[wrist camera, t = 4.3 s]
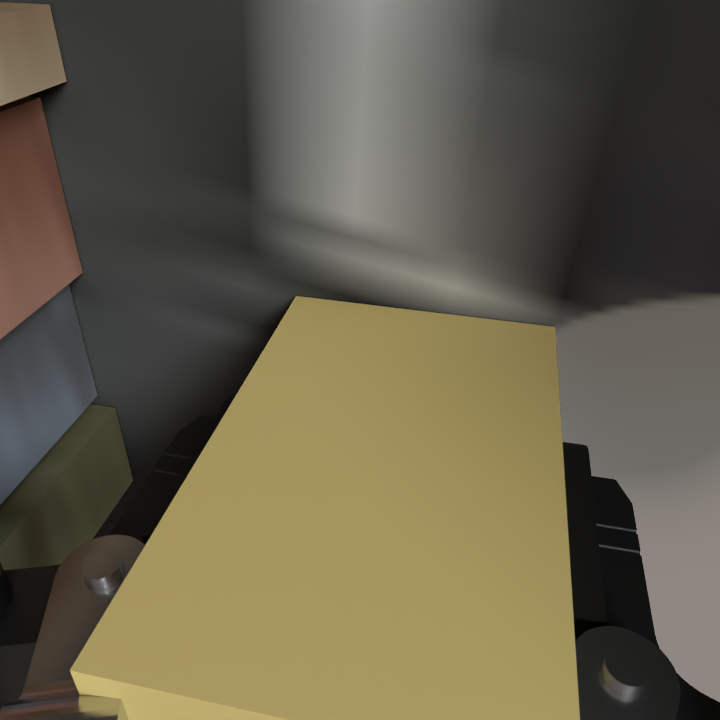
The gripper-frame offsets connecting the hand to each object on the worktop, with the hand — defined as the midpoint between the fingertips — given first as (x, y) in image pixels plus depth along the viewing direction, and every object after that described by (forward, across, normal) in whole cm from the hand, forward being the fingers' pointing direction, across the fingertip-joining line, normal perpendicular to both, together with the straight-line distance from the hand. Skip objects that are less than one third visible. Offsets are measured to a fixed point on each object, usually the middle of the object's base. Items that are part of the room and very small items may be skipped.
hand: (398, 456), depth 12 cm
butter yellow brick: (+2, 0, 0) cm, 2 cm away
